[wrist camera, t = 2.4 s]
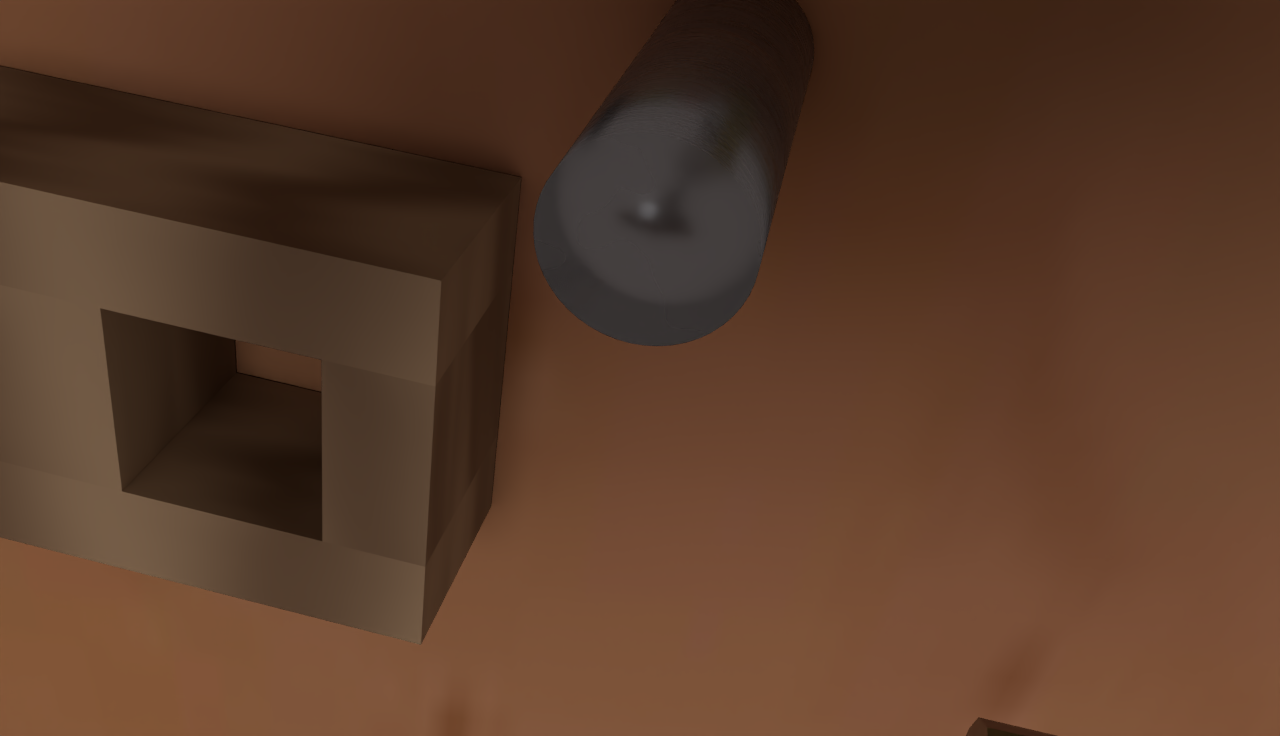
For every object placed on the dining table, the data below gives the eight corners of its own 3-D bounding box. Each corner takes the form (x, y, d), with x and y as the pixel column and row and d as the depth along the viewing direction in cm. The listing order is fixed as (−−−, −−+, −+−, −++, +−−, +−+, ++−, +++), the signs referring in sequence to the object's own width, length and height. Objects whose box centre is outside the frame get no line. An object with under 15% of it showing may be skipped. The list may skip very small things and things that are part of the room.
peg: (829, -11, 22) (782, 160, 14) (796, 140, 24) (737, 367, 16) (671, -42, 22) (544, 111, 15) (649, 111, 24) (524, 319, 16)
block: (521, 177, 25) (441, 280, 21) (490, 506, 30) (421, 644, 26) (-321, -3, 27) (-549, 59, 23) (-224, 333, 32) (-398, 435, 28)
